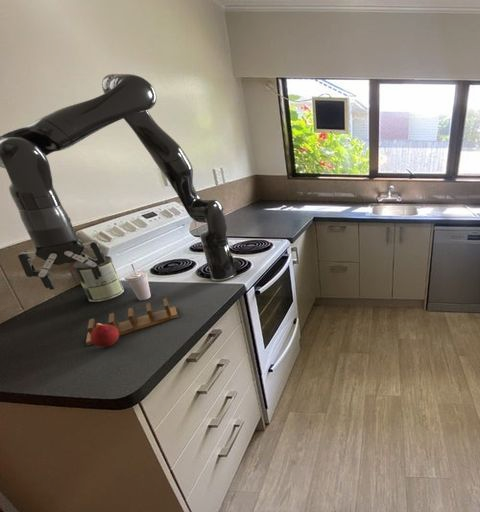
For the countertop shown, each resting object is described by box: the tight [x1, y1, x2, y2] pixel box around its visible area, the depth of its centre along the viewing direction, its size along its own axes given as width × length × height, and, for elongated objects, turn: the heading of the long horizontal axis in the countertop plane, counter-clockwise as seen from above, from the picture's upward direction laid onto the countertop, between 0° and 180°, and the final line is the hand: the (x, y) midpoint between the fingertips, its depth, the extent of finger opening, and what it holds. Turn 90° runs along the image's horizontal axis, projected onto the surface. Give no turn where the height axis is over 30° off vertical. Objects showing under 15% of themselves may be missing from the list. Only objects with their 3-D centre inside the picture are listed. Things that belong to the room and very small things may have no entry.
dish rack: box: [85, 297, 179, 346], centre depth 90 cm, size 22×6×5 cm, turn 130°
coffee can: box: [71, 255, 125, 303], centre depth 107 cm, size 10×10×14 cm
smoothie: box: [124, 263, 152, 301], centre depth 105 cm, size 6×6×14 cm
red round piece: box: [90, 322, 120, 348], centre depth 81 cm, size 6×6×8 cm
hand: (76, 283), depth 77 cm, fingers open, 8 cm apart
